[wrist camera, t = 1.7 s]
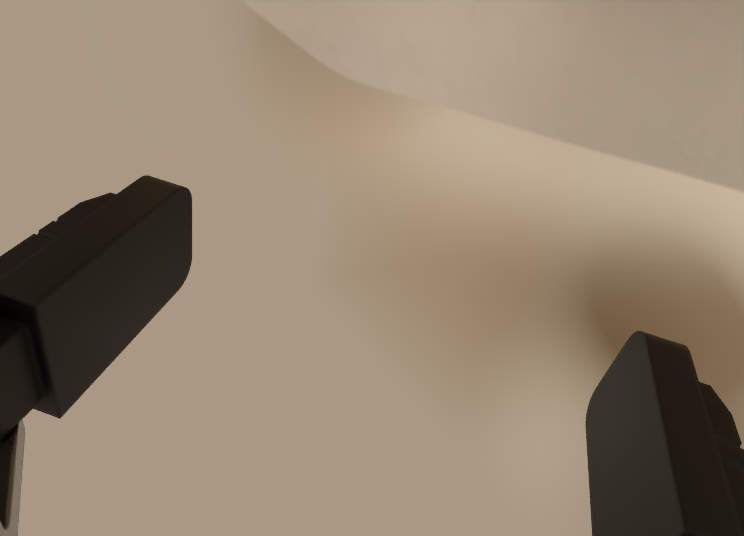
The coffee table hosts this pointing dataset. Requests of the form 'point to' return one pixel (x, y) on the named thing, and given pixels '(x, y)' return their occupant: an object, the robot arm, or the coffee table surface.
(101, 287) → the robot arm
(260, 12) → the coffee table surface
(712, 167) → the coffee table surface
